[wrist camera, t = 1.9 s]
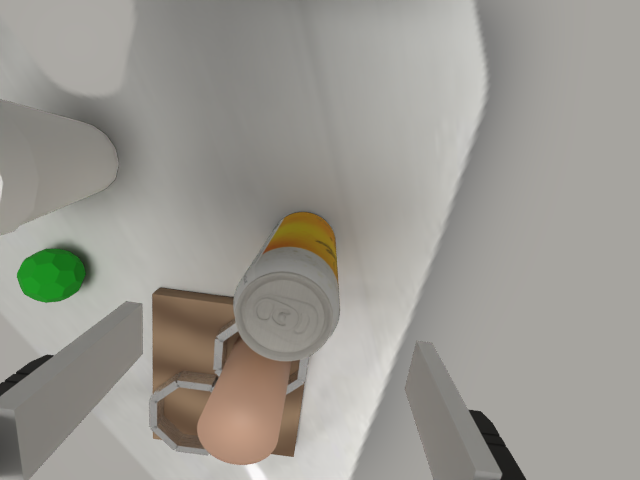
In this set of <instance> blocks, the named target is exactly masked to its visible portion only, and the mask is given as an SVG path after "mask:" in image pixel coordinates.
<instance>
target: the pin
mask: <svg viewBox="0 0 640 480" xmlns="http://www.w3.org/2000/svg"><path fill="white" fill-rule="evenodd" d="M291 363H292V361H277V360H272V359H269V358H266V357H264V356H261V355H259V354H258V353H256V352H255V351H253V350H252V349H251V348H250V347H249V346H248V345H247V344H246V343H245V342H244V341H243V339H242V338H241V336H240V335H239V337H238V338H237V340H236V342H235V344H234V347H233V349H232V351H231V353H230V355H229V357H228V359H227V361H226V363H225V366H224V368H223V370H222V372H221V374H220V376H219V378H218V380H217V382H216V385H215V387H214V389H213V391H212V393H211V395H210V397H209V399H208V401H207V403H206V406H205V408H204V410H203V412H202V414H201V416H200V418H199V421H198V425H197V433H198V437H199V440H200V442H201V444H202V445H203V447H204V448H205V449H206V450H207V451H208V452H209V453H210V454H211V455H212V456H214V457H215V458H217V459H219V460H221V461H224V462H227V463H230V464H236V465H247V464H253V463H256V462H259V461H261V460H263V459H265V458H266V457H268V456H269V455H270V454H271V453H272V452H273V451H274V449H275V447H276V445H277V443H278V438H279V432H280V427H281V421H282V415H283V409H284V403H285V398H286V392H287V386H288V380H289V374H290V369H291Z"/></svg>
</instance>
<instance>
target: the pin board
mask: <svg viewBox="0 0 640 480" xmlns="http://www.w3.org/2000/svg"><path fill="white" fill-rule="evenodd" d="M233 300H234V298H233V297H225V296H218V295H211V294H203V293H196V292H189V291H181V290H174V289H167V288H159V289H158V290H156V291H155V292H154V293H153V294H152V312H153V393H154V392H155V391H156V389H157V388H158V387H159V386H161V385H162V384H163V383H165V382H166V381H168V380H169V379H171V378H172V377H173V376H175V375H176V374H178V373H179V372H183V371H190V372H197V373H205V374H212V375H217V374H216V373H215V372H214V371H215V370H213V365H214V347H215V338H216V336H217V334H218V333H219V331H220V329H221V328H222V327H224V326H225V325H227V324H228V323H229V322H231V321H232V320H234V319H235V315H234V310H233ZM239 335H240V334H239V332H236V333H235V334H233V335H232V336H230V337H229V338H228V339H227V351H226V360H227V359H228V357H229V355H230V353H231V351H232V349H233V347H234V344H235V342H236V340H237V338H238V337H239ZM299 364H300V360H296V361H292V363H291V369H290V374H289V375H291V374H292V373H294V372H296V371H297V370H299ZM217 377H219V376H218V375H217ZM304 383H305V382H304ZM303 390H304V384H303V385H301V386H300V387H298V388H296V389H295V390H293V391H292V392H290V393H288V394H287V395H286V398H285V403H284V409H283V415H282V421H281V427H280V432H279V438H278V443H277V445H276V447H275V449H274V451H273V452H272V453H271V454H275V455H283V456H291V457H294V451H295V444H296V437H297V431H298V424H299V417H300V410H301V403H302V397H303ZM210 395H211V392H210V391H204V390H196V389H188V388H181V387H179V388H177V389H176V390H174V391H173V392H171V393H170V394H168V395H167V396H165V397H164V416H165V417H166V418H167V419H168V420H169V421H170V422H171V423H172V424H173V425H174V426H175V427H177V428H178V429H179V430H180V431H181V432H182V433H183V434H186V435H194V436H198V433H197V425H198V421H199V418H200V416H201V414H202V412H203V410H204V408H205V406H206V403H207V401H208V399H209V397H210ZM153 439H160V440H162V439H161V438H160V437H159V436H157V435H156V434H155V433H154V432H153Z"/></svg>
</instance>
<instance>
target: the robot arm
mask: <svg viewBox="0 0 640 480" xmlns="http://www.w3.org/2000/svg"><path fill="white" fill-rule="evenodd" d="M142 354H143V314H142V303H135V302H128V301H126V302H125V303H123V304H122V305H121V306H119V307H118V308H117V309H115V310H114V311H113V312H111V313H110V314H109V315H107V316H106V317H105V318H103V319H102V320H101V321H99V322H98V323H97V324H95V325H94V326H93V327H91V328H90V329H89V330H88V331H86V332H85V333H84V334H82V335H81V336H80V337H78V338H77V339H76V340H74V341H73V342H72V343H70V344H69V345H68V346H66V347H65V348H64V349H62V350H61V351H60V352H58V353H57V354H56V355H45V356H43V357H41V358H38V359H36V360H34V361H32V362H30V363H28V364H27V365H26V366H24V367H23V368H21V369H20V370H19V371H17V372H16V374H13V375H12V376H10V377H9V378H7V379H6V380H5V382H2V383H1V384H0V480H29V479H30V478H31V477H32V476H33V474H34V473H35V472H36V471H37V470H38V469H39V468H40V466H42V465H43V463H44V462H45V461H46V460H47V459H48V458H49V457H50V456H51V455H52V453H53V452H54V451H55V450H56V449H57V448H58V447H59V446H60V445H61V444H62V442H63V441H64V440H65V439H66V438H67V437H68V435H70V434H71V433H72V431H73V430H74V429H75V428H76V427H77V426H78V425H79V424H80V423H81V421H82V420H83V419H84V418H85V417H86V416H87V415H88V414H89V413H90V412H91V410H92V409H93V408H94V407H95V406H96V405H97V404H98V403H99V402H100V401H101V399H102V398H103V397H104V396H105V395H106V394H107V393H108V392H109V391H110V389H111V388H112V387H113V386H114V385H115V384H116V383H117V382H118V381H119V380H120V378H121V377H122V376H123V375H124V374H125V373H126V372H127V371H128V370H129V368H130V367H131V366H132V365H133V364H134V363H135V362H136V361H137V360H138V359H139V357H140V356H141V355H142ZM405 391H406V394H407V398H408V401H409V404H410V407H411V410H412V413H413V416H414V420H415V423H416V426H417V429H418V432H419V435H420V439H421V442H422V444H423V448H424V451H425V454H426V457H427V461H428V464H429V466H430V470H431V473H432V476H433V480H526V478H525V477H524V475H523V473H522V472H521V470H520V468H519V466H518V465H517V463H516V461H515V460H514V458H513V456H512V455H511V453H510V451H509V450H508V448H507V447H506V445H505V443H504V441H503V440H502V438H501V437H500V436H499V433H498V431H497V430H496V428H495V426H494V425H493V423H492V422H491V421H490V420H489V419H488V418H487V417H486V416H485V415H484V414H483V413H482V412H481V411H474V410H468V409H467V407H466V405H465V403H464V401H463V399H462V397H461V395H460V394H459V392H458V390H457V388H456V386H455V384H454V383H453V381H452V379H451V377H450V375H449V373H448V371H447V370H446V368H445V366H444V364H443V362H442V360H441V358H440V356H439V354H438V353H437V351H436V349H435V347H434V345H433V343H430V342H423V341H416V344H415V349H414V352H413V357H412V361H411V365H410V369H409V373H408V377H407V381H406V386H405Z"/></svg>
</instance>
